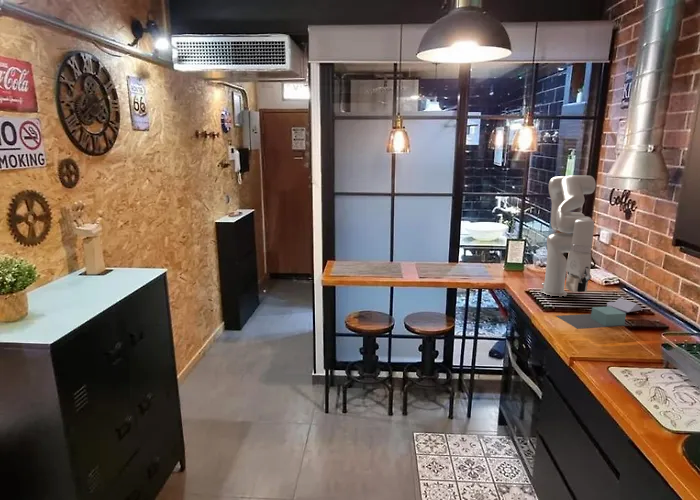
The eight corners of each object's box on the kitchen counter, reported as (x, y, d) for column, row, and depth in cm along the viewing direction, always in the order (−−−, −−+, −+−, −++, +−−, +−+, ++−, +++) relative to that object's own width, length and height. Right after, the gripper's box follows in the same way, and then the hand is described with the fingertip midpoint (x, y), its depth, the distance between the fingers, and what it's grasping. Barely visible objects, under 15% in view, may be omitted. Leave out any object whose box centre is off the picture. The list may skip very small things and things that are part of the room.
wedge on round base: (641, 316, 205) (615, 307, 216) (643, 302, 203) (617, 293, 215) (627, 319, 201) (601, 309, 213) (629, 304, 200) (603, 296, 212)
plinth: (590, 318, 199) (592, 307, 198) (609, 317, 201) (610, 306, 199) (605, 326, 190) (606, 314, 189) (624, 324, 192) (626, 313, 191)
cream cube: (565, 288, 200) (566, 275, 198) (577, 287, 200) (579, 274, 199) (573, 292, 194) (575, 279, 192) (586, 291, 195) (588, 278, 193)
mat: (555, 317, 202) (555, 315, 202) (604, 315, 206) (604, 313, 206) (577, 331, 188) (577, 328, 187) (629, 327, 191) (629, 325, 191)
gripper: (560, 244, 200) (556, 283, 205) (586, 253, 184) (581, 296, 188) (576, 243, 202) (571, 282, 206) (603, 253, 185) (597, 295, 189)
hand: (576, 288), depth 197 cm, fingers closed on cream cube, 6 cm apart
